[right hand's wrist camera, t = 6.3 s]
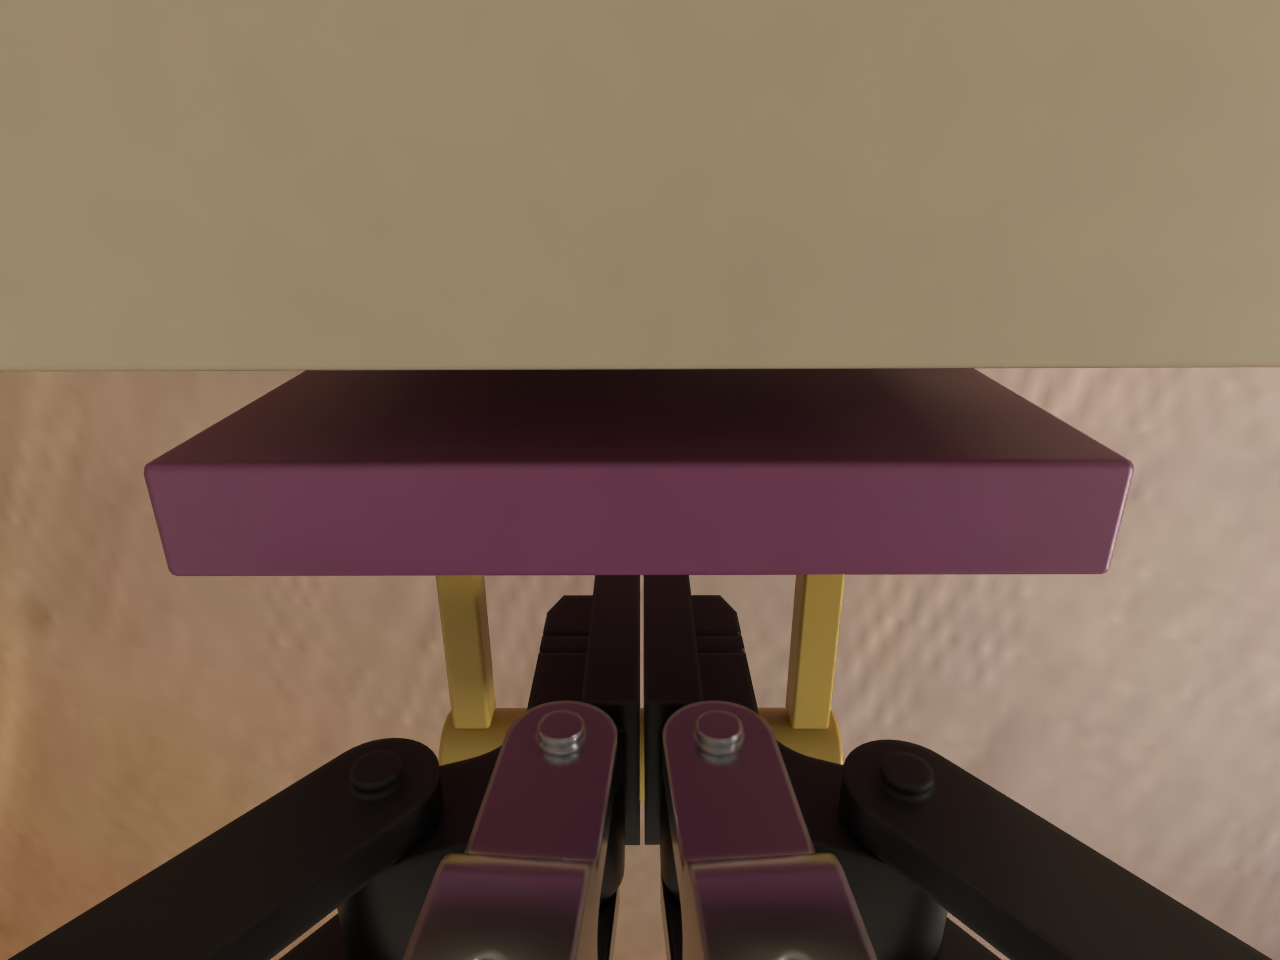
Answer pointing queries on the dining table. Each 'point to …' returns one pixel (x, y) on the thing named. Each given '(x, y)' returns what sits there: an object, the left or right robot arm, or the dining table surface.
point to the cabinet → (638, 184)
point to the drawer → (639, 495)
